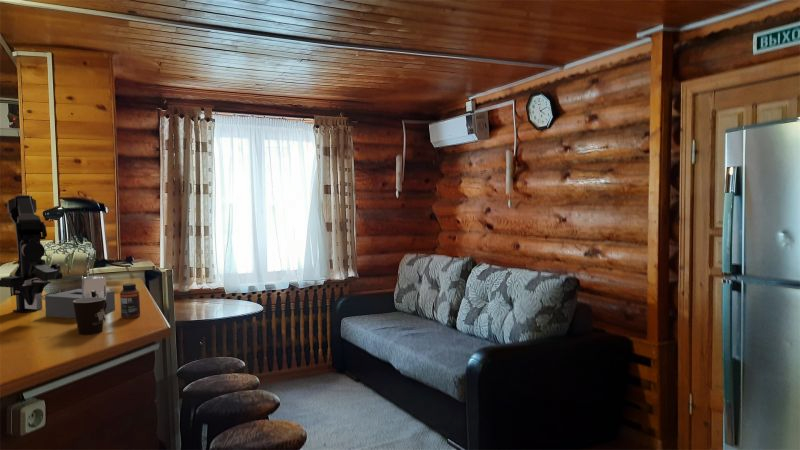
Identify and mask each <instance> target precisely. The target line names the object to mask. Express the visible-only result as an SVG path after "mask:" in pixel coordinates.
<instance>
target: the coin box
mask: <svg viewBox="0 0 800 450" xmlns="http://www.w3.org/2000/svg"><path fill="white" fill-rule="evenodd" d="M115 295H116V294H115V290H107V289H106V300H105V301H106V304H107V306H106V310H105V312H104V314H107V313H111V312H113V311H114V312H115V310H116V302H115V300H116V299H115V298H116V297H115ZM81 298H83V295H82V288H76V289H72V290H71V289H70V290H66V291H63V292H57V293H53V294H47V295H44V301H45V306H44V307H45V317H52V318H54V317H55V318H64V319H76V315H75V310H74V304H73V301H74V300H77V299H81Z"/></svg>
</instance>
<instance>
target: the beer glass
mask: <svg viewBox="0 0 800 450" xmlns="http://www.w3.org/2000/svg"><path fill="white" fill-rule="evenodd" d="M81 289H82V295H83V298H89V297H103V298H105V300H106V290H107V282H106V276H105V275H89V276H85V277H82V281H81ZM105 314H106V313H104V319H103V324H105V323H106V322H107V319H106V315H105Z"/></svg>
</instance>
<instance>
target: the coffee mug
mask: <svg viewBox="0 0 800 450" xmlns="http://www.w3.org/2000/svg"><path fill="white" fill-rule="evenodd" d="M73 304H74V310H75V315H76V318H75V321H76V326H77V332H78V335H79V336H80V335H81V336H90V335H96V334H100V333H102V332H103V327H104V323H103V319H104V314H105V313H104V312H105V310H106V306H107V304H106V301H105V298H103V297H89V298H81V299H77V300H74V301H73Z"/></svg>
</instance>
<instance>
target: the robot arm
mask: <svg viewBox="0 0 800 450" xmlns="http://www.w3.org/2000/svg"><path fill="white" fill-rule="evenodd" d="M37 207H38V206H37V199H34V198H33V195H29V194H28V195H27V194H26V195H25V194H24V195H18V194H17V195H15V196H14V197H13V198H11V199H8V200H7V214H9V215H10V220H11V221H12V223H13V224H14V227H15V228H14V229H15V236H16V246H17V265H18V267H17V268H16V270H15V272H14V273H13V276H12V275H11V276H5V277H0V288H10V289H11V295H12V296H13V297H14V296H15V301H16V308H15V309H12V312H16V313H30V312H34V311H38V310H42V309H43V307H42V308H41V309H25V300H26V302H27V303H28V305H32V292H33V293H42V294H43V292H44V289H45V287H46V286H48V285H49V284H51V282H52V281H51V280H53V281H55V280H61V279H62V280H63V272H62V271H61V269H62V268H61V265H60V264H59V263H53V264H50V265H47V264H46V260H45V259H43V258H42V257H43V256H44V254H45V252H46V250H45V249H46V248H45V247H44V245H43V244H42V242H41V240H43V241H44V240H46V238H47V237H48V233H47V227H46V225H47V224H45V222H44V221H42V219H41V217H40V216H39V215H38V214H36V213H37V211H38V209H37Z"/></svg>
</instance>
